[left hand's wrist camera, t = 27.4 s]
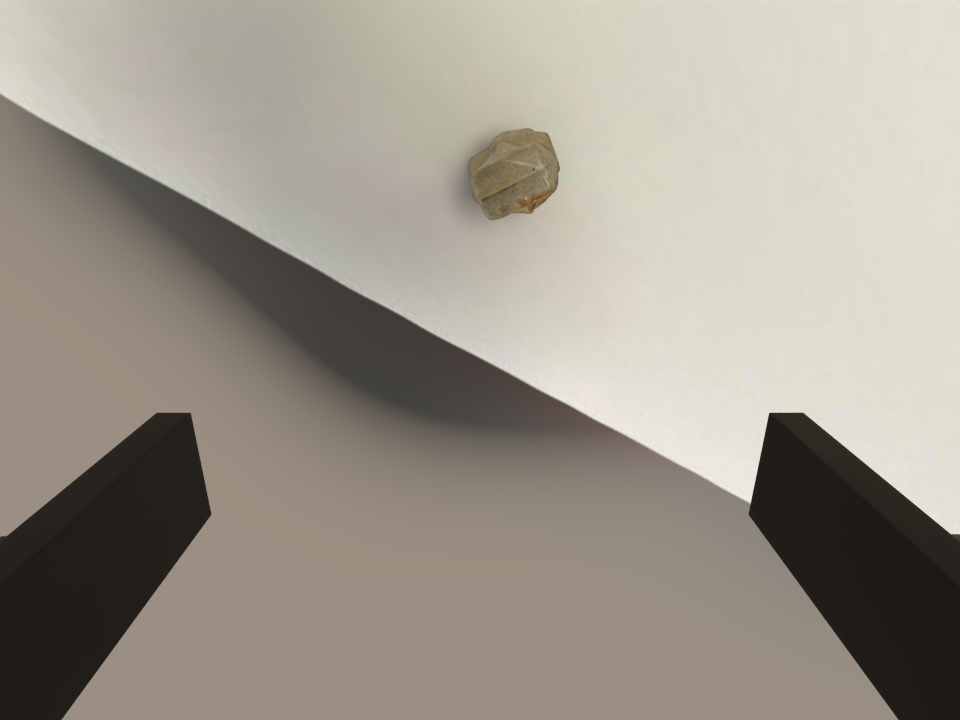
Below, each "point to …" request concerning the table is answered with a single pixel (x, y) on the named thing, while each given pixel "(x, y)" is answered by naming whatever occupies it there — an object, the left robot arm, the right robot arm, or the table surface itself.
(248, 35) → the table surface
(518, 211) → the sculpture
